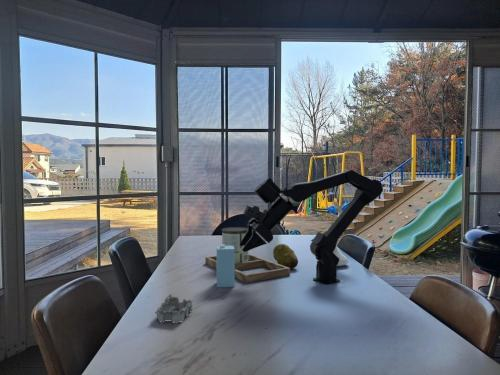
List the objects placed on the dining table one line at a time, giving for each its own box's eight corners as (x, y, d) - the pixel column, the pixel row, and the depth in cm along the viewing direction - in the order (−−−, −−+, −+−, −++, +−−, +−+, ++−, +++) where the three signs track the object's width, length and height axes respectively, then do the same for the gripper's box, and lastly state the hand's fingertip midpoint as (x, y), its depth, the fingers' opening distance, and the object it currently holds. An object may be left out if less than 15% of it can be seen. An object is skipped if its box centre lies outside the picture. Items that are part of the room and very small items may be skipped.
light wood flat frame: (290, 275, 137) (290, 268, 137) (246, 282, 128) (246, 275, 128) (244, 258, 163) (244, 252, 163) (205, 263, 154) (205, 257, 154)
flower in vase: (346, 269, 144) (347, 202, 143) (316, 267, 148) (316, 201, 147) (349, 261, 157) (350, 199, 156) (321, 259, 161) (321, 199, 159)
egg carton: (170, 308, 105) (170, 293, 105) (196, 310, 104) (196, 295, 103) (151, 323, 95) (151, 306, 95) (180, 326, 93) (180, 309, 93)
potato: (276, 271, 143) (276, 249, 142) (271, 262, 156) (271, 242, 155) (299, 270, 144) (299, 248, 143) (292, 262, 156) (292, 242, 156)
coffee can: (224, 261, 158) (224, 226, 157) (249, 262, 157) (249, 227, 156) (219, 267, 147) (219, 230, 147) (247, 268, 146) (247, 231, 146)
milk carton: (233, 281, 129) (233, 243, 129) (234, 286, 124) (234, 246, 123) (216, 282, 129) (216, 243, 128) (217, 287, 123) (217, 246, 123)
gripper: (254, 194, 135) (222, 226, 135) (262, 198, 117) (225, 235, 116) (277, 216, 137) (245, 248, 136) (288, 224, 118) (251, 261, 117)
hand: (241, 248), depth 126 cm, fingers open, 9 cm apart
